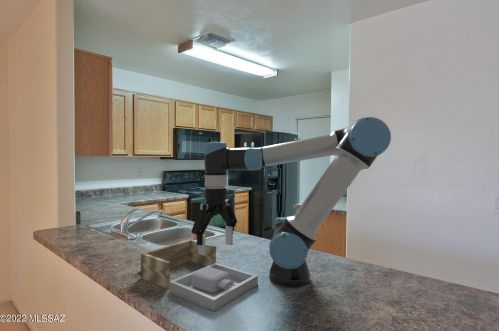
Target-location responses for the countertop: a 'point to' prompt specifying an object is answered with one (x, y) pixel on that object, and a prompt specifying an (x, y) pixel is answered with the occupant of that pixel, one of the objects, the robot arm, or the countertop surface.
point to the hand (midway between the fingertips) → (216, 249)
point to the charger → (211, 280)
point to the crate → (173, 260)
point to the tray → (220, 297)
